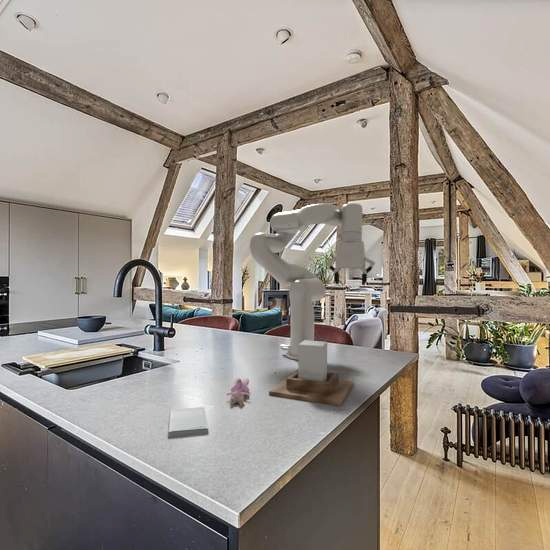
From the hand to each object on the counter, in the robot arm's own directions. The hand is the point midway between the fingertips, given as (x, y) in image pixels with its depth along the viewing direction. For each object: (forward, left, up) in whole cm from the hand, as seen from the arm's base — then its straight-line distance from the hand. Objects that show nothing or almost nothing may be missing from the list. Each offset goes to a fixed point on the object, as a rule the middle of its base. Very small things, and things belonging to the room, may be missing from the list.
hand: (350, 284), depth 131 cm
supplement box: (-5, -30, -29) cm, 43 cm away
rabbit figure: (-22, -46, -31) cm, 59 cm away
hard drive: (-24, -65, -31) cm, 76 cm away
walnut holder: (-5, -31, -30) cm, 43 cm away
